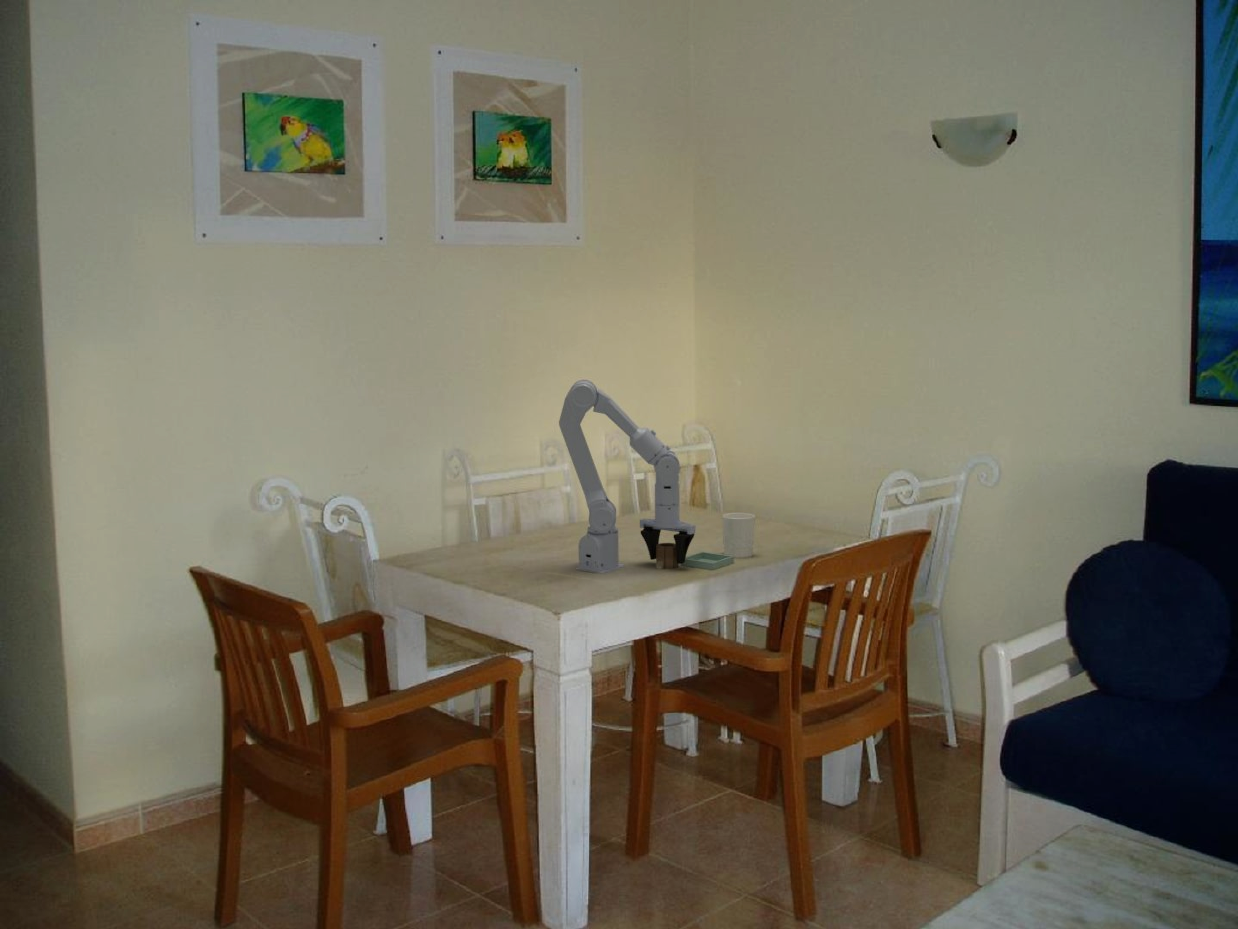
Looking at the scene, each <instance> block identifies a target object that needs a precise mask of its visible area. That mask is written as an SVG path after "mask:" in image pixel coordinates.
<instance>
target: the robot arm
mask: <svg viewBox="0 0 1238 929" xmlns="http://www.w3.org/2000/svg"><path fill="white" fill-rule="evenodd" d="M592 408H593V410H592V412H594V413H598V414H603V415H605V416H606V417H607V418H608V419H610V420H611V422H612V423H614V424H615V425H616V426H617V427H618V428H619V429H620V430H621V431H623V433H624V434H626V435H627V436H628V437H629V446H630V447H631V448H632V449H633V450H634V451H635V452H636V453H637V454H638V455H639V456H640V457H641V458H642V459H643V460H644V461H645V462H646V463H647V464H648V465H651V466H653V468H654V471H655V472H654V473H655V483H654V518H646V517H644V518H642V519H639V528H640V529H642V530H640V535H641V537H642V539H643V541H644V542H645V544H646V547H647V550H648V555H649V559H650V560H652V561H655V560H656V544H660V543H659V542H660V536H661V532H662V531H667V532H668V531H669V532H677V533H675V534H673V539H674V543H675V544H676V551H677V564H679V565H681V563H684V562H685V558H686V557H687V553H688V550H689V547H690V545H691V543H692V541H693V539H694V537H695V534H696V524H691V523H687V522H683V521H681V520H680V483H679V481H680V477H679V473H680V472H681V466H680V461H679V458H678V456H677V455H676V453H675V451H672V450H671V447H670V446H669V445H665V444H664V443H663V442H662V441H661V440H660V439H659V438H658V437H657V436H656V435H657V432H656V431H655V430H654V429H651V430H650V429H649V428H648V427H639V426H638V424H636V423H635V422H634V421H633V419H632V418H630V416H628V414H627V413H626V412H625V411H624V410H623V409H622V408H621V406H620V405H619V404H618V403H617V402H616V401H615V400H614V399H613V398H612V397H611V396H610V395H608V394H607V393H606V392H605V391H603V390H602V389H601V388H597V386H596V384H594V383H593V382H592V381H591V380H589V379H580V380H577V381H576V382H574V383H573V385H572V386H571V387H570V389H569V391H568V392H567V394H566V396H565V397H564V402H563V406H562V409H561V413H560V417H559V419H558V420H559V421H558V426H559V428H560V432H561V435H562V436H563V441H564V443H565V446H566V448H567V451H568V454H569V457H570V458H571V461H572V465H573V467H574V470H575V472H576V475H577V478H578V481H579V484H580V486H581V489H582V491H583V494H584V498H585V501H586V506H587V508H588V524H589V526H588V527H587V530H586V531H587V532H586V533H585V535H584V536H582V537H581V538H580V540H579V542H578V567H576V568H575V569H576V570H578V571H585V572H591V573H597V574H605V573H609V572H613V571H615V570H618V569H621V568H625V567H627V564H623V563H620V561H619V558H620V556H619V554H620V553H619V528H618V527H617V526H616V522H617V509H616V506H615V504H614V503H613V502H612V501H611V500H610V499H609V497H608V495H607V493H606V491H605V488H604V487H603V484H602V481H601V478H600V475H599V473H598V470H597V467H596V464H595V461H594V459H593V456H592V453H591V451H590V448H589V446H588V442H587V440H586V437H585V434H584V432H583V429H582V426H581V423H582V422H583V420H584V417H585V416H586V414H587V413H588V412H589V411H590V410H591V409H592Z"/></svg>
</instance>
